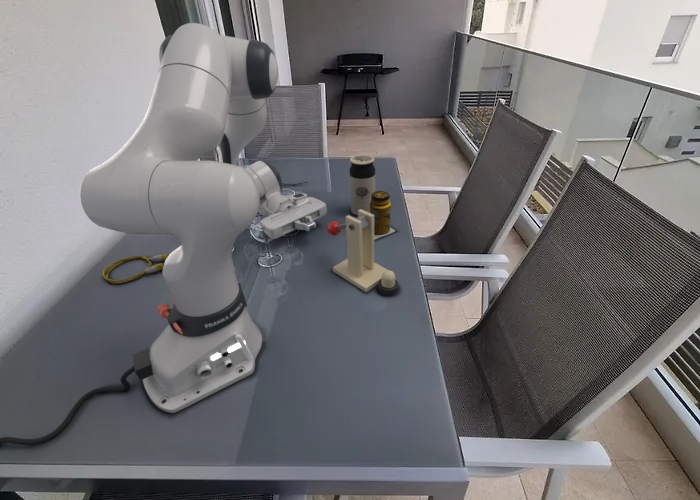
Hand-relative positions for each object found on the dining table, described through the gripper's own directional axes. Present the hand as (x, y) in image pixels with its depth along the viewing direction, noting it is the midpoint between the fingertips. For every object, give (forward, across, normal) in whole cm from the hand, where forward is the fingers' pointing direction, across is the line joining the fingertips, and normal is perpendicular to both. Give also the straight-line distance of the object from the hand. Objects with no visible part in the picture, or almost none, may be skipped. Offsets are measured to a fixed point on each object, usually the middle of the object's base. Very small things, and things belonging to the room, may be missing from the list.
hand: (311, 227), depth 97 cm
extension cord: (-26, -41, +6) cm, 49 cm away
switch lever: (+15, 0, -5) cm, 16 cm away
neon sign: (-48, +17, +6) cm, 51 cm away
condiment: (+8, +18, +6) cm, 21 cm away
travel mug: (-4, +24, +6) cm, 25 cm away
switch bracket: (+19, 0, +6) cm, 20 cm away
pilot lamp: (+28, 0, +6) cm, 29 cm away
